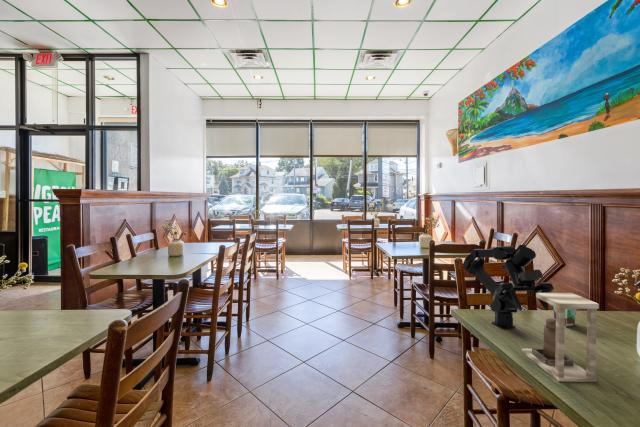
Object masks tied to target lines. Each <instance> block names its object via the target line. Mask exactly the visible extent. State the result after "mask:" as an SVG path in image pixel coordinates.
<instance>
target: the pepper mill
mask: <svg viewBox="0 0 640 427" xmlns="http://www.w3.org/2000/svg"><path fill="white" fill-rule="evenodd" d="M545 323H546V324H544V326H543V345H542V346H543V347H542V348H543V356H544V357H546V358H547V359H548V360H555V345H556V320H555V319H554V318H546V319H545Z"/></svg>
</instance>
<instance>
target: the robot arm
mask: <svg viewBox="0 0 640 427" xmlns="http://www.w3.org/2000/svg"><path fill="white" fill-rule="evenodd" d="M536 256H537V254H536V252H535V250H533V249H532V248H530V247H528V246H527V245H526V244H519V245H518V246H517V248H515V247H514V245H500V246H495V247H492V248H486V249H485V248H474V249H472V251H471V252H470V253H469V254H468V255H467V256H465V259H464V260H463V263H462V268H463V269H464V271H465V272H467V273H468V274H469V275H472V276H473V277H475V278H476V279H477V280H478V281H479V282H480V283H481V285H483V286H484V288H485V289H486V291H488V292H489V293H490V295H491V296H492V300H493V301H492V303H490V306H489V307H490V310H491V311H493V312H494V321H491V324H493V325H495V326H497V327H498V328H500V329H502V330H505V329H514V328H516V327H517V326H516V325H514V317H513V313H517V312H518V311H522V310H523V307H522V305H521V303H520V301H519V299H518V298H519V297H517V292H534V293H535V294H536V293H552V292H553V290H554V289H555V287H554V285H553V283H552V282H548V281H547V282H539V283H538V284H537V285H534V284H535V281H540V279H543V276H544V275H543V273H542V271H541V269H533V270H532V271H531V270H528V271H527V270H525V269H524V267H527V266H528V265H529V264H530V263H531V262H532V261H533V260H534V259H535V258H536ZM485 258H493V259H495V260H498V261H504V262H503V264H502V266H501V269H504V270H506V272H507V274H508V275H509V277H508V281H509V282H500V284H498V283H497V282H496V281H495V280H494V279H493V278H492V276H491V275H490V274H489V273H488V272H487V271H486V270H485V264H486V261H485ZM537 300H538V302H539V303H540V304H541V306H542V308H543V309H544V310H545V311H549V303H547V302H545V301H543V300H541V299H539V298H537Z"/></svg>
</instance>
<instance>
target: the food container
mask: <svg viewBox="0 0 640 427" xmlns="http://www.w3.org/2000/svg"><path fill="white" fill-rule="evenodd" d="M552 307H553V319H555V320H556V307H555V306H553V305H552ZM577 310H578V309H565V328H574V327H575V326H576V317H577V316H576V315H577Z"/></svg>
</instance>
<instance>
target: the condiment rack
mask: <svg viewBox="0 0 640 427" xmlns="http://www.w3.org/2000/svg"><path fill="white" fill-rule="evenodd" d="M535 294H536V298H537V299H538V298H539V299H541V300H543V301H545V302H547V303H548V305H551V306H552V307H553V306H555V307H556V345H555V360H548V359H547V358H546V357H544V356H543V347H542V348H541V347H531V348H521V352H522V353H523V354H524V355H525V356H527V357H528V358H529V359H531V360H532V361H533V362H534V363H535V364H536V365H538V366H539V367H540V368H542V370H544V371H545V372H546V373H547V374H549V375H550V376H551V377H552V378H553V379H555V380H556V381H557V382H572V383H573V382H576V383H577V382H581V383H582V382H583V383H585V382H588V383H589V382H590V383H593V382H594V383H595V382H596V383H597V382H598V378H597V377H596V368H597V367H596V363H597V360H596V359H597V328H598V325H597V324H598V322H597V320H598V318H597V317H598V310H599V309H600V308H599V306H600V304H599V303H597V302H595V301H593V300H590V299H589V298H585V297H584V296H581V295H578V294H576V293H573V292H550V293H535ZM565 309H577V310H587V312H586V314H587V315H586V354H585V355H586V356H585V357H586V359H585V360H586V361H585V369H584V368H583V367H581V366H579V365H578V364H577V363H575V361H574V360H573V359H572V358H570V357H569V356H568V355H566V354H565V340H566V339H565V337H566V336H565V335H566V334H565V333H566V331H565V330H566V327H565Z"/></svg>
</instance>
